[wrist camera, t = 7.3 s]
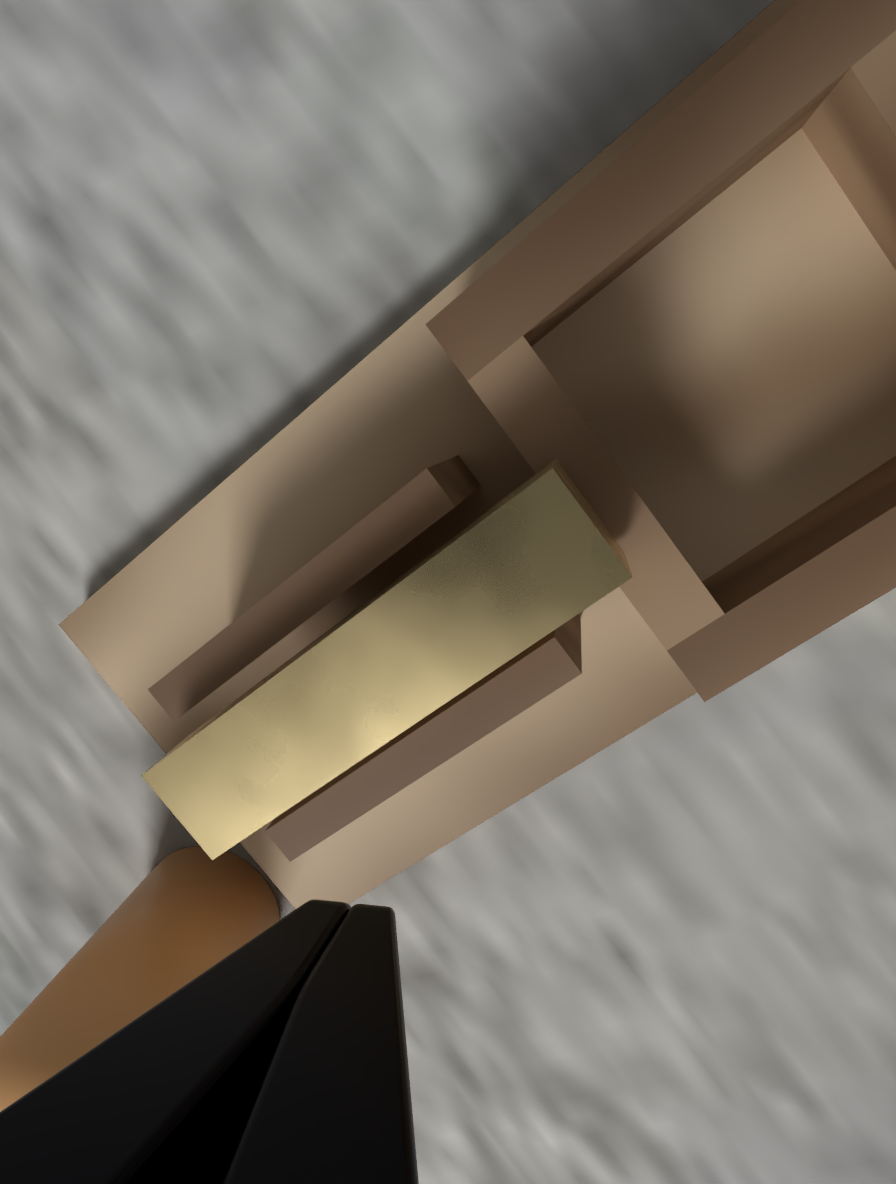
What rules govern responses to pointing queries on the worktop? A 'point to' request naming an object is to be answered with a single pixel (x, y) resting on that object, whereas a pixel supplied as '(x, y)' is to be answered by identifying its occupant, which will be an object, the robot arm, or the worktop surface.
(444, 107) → the worktop surface
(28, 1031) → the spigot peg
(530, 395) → the dock board
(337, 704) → the bar
